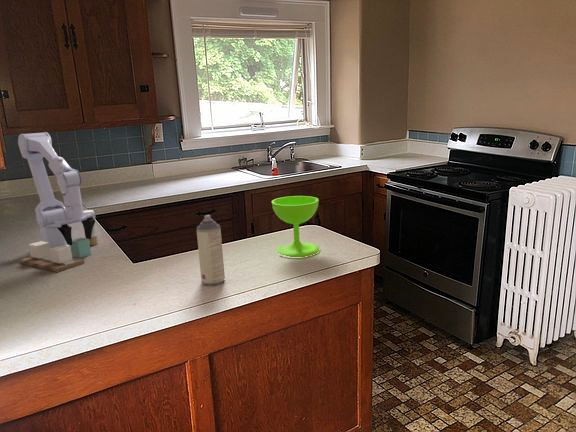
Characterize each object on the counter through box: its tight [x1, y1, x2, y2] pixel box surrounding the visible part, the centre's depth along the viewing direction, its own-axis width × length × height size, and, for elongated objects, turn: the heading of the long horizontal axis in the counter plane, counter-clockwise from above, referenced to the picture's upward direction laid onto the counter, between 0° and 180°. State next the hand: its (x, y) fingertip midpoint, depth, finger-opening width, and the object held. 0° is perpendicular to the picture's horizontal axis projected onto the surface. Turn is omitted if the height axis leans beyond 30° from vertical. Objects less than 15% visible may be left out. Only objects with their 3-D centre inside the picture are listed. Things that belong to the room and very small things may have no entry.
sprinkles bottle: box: [83, 209, 99, 246], centre depth 181 cm, size 5×5×14 cm
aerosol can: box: [196, 214, 226, 287], centre depth 135 cm, size 7×7×20 cm
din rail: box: [29, 254, 74, 265], centre depth 162 cm, size 21×4×1 cm, turn 58°
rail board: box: [19, 256, 85, 273], centre depth 162 cm, size 22×10×1 cm, turn 58°
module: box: [70, 237, 92, 259], centre depth 168 cm, size 5×4×6 cm
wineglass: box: [271, 195, 320, 257], centre depth 160 cm, size 16×16×18 cm
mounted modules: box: [28, 240, 72, 263], centre depth 161 cm, size 18×4×4 cm, turn 58°
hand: (79, 241), depth 168 cm, fingers open, 7 cm apart
